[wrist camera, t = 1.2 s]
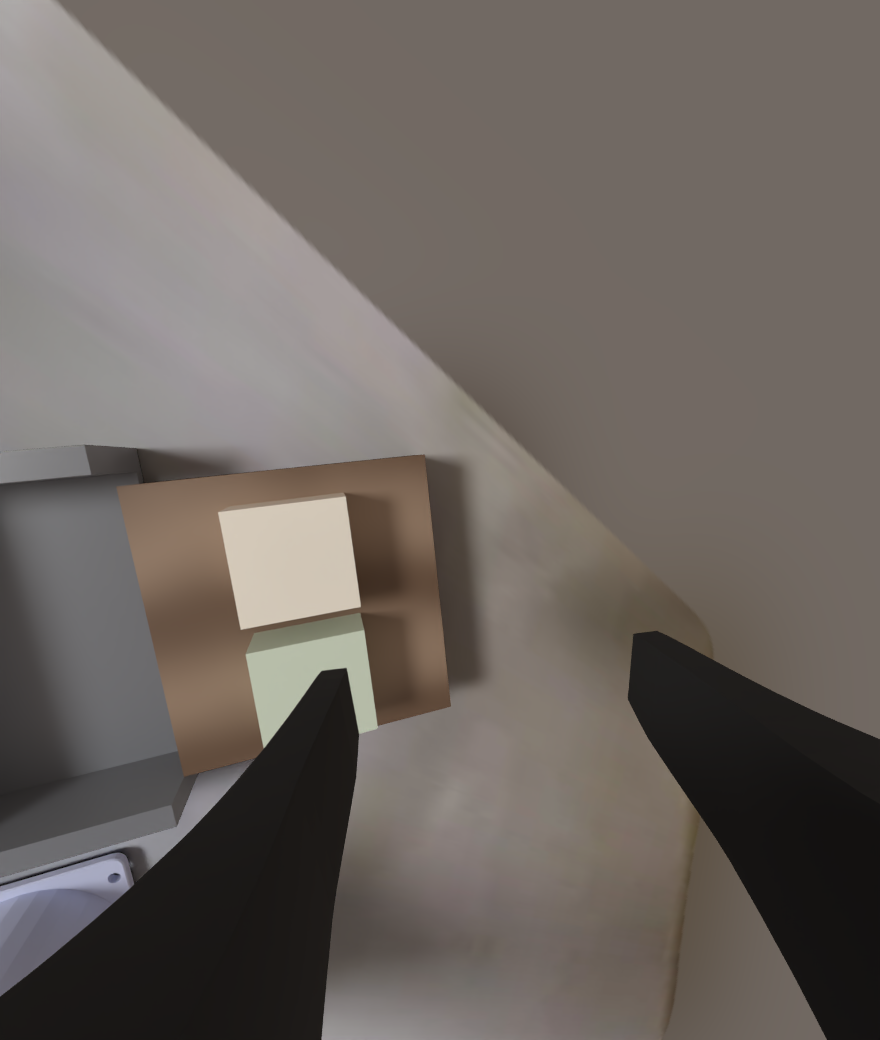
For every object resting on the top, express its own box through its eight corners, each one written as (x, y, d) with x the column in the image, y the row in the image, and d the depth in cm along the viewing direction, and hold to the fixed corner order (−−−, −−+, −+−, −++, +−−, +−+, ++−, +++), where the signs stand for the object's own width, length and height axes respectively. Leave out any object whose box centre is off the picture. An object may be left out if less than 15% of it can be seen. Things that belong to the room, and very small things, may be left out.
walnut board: (437, 680, 23) (450, 706, 21) (200, 739, 20) (183, 776, 18) (413, 455, 21) (424, 454, 18) (144, 482, 18) (116, 486, 16)
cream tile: (357, 591, 19) (360, 607, 17) (249, 611, 17) (240, 629, 16) (343, 492, 18) (345, 496, 16) (230, 506, 17) (217, 512, 15)
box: (204, 757, 20) (176, 826, 16) (-23, 815, 18) (-116, 911, 14) (136, 448, 18) (83, 444, 14) (-139, 471, 15) (-291, 474, 12)
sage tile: (372, 702, 19) (378, 728, 18) (271, 727, 18) (265, 758, 16) (360, 612, 19) (364, 629, 17) (254, 633, 18) (245, 654, 16)
